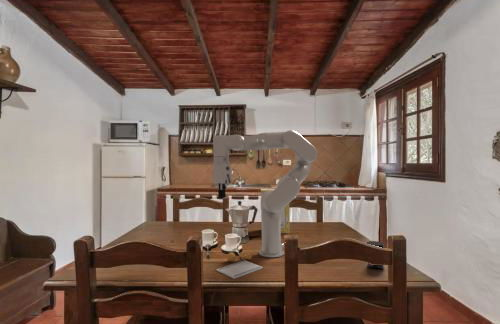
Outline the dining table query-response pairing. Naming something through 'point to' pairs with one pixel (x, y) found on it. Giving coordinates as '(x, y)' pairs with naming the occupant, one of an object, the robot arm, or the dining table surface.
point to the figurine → (232, 256)
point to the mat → (239, 269)
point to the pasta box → (281, 215)
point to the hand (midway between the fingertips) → (222, 197)
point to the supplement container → (379, 246)
